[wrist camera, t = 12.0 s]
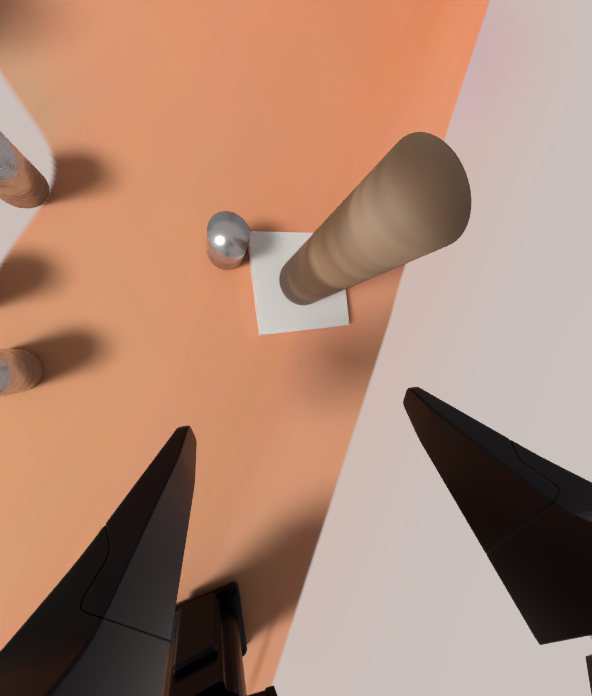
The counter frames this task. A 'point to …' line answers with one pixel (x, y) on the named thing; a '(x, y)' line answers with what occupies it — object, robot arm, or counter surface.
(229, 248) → the spacer posts
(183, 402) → the counter surface
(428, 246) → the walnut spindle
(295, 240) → the rubber mat
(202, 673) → the robot arm
